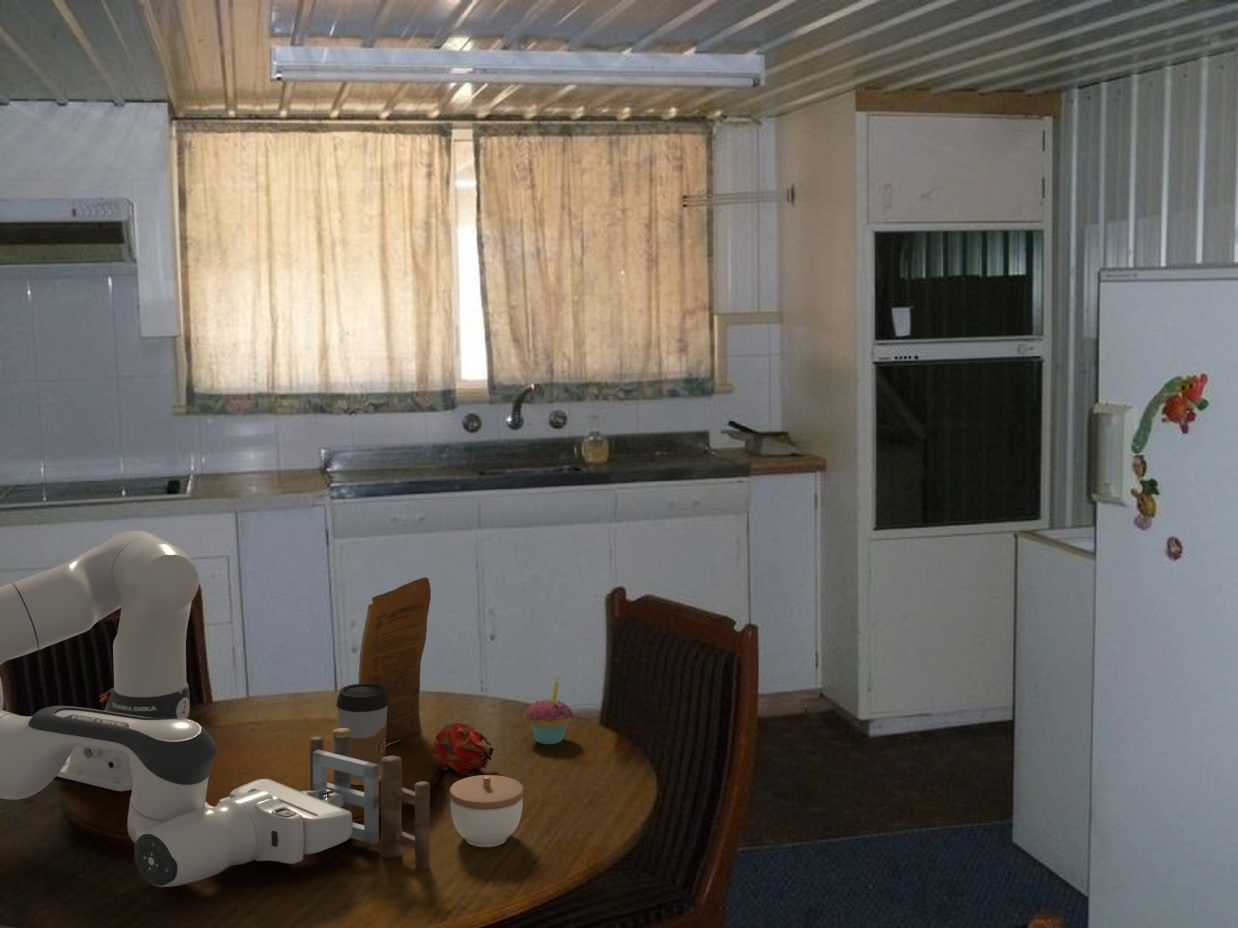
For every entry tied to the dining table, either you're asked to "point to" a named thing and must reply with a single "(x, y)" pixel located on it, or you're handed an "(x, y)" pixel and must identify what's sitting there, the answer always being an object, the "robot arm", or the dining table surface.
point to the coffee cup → (364, 721)
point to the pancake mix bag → (397, 653)
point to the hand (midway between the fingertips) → (335, 796)
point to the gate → (363, 799)
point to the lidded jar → (486, 808)
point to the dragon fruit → (462, 748)
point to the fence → (388, 802)
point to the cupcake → (549, 719)
